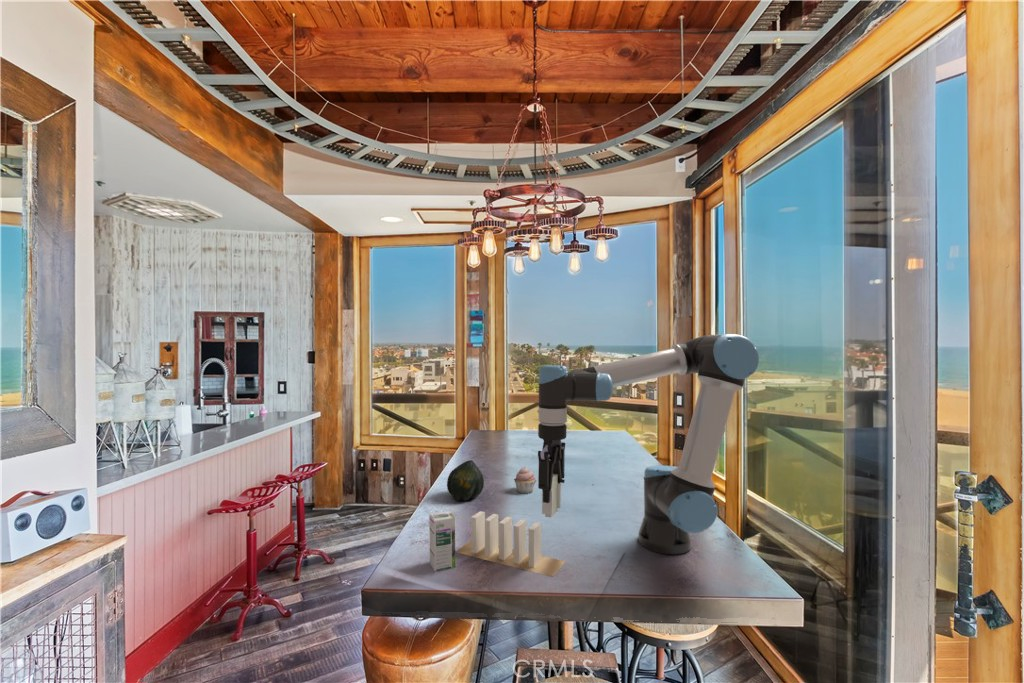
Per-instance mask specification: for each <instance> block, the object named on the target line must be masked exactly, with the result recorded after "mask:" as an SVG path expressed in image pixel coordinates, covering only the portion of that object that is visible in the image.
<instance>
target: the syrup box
mask: <svg viewBox="0 0 1024 683" xmlns="http://www.w3.org/2000/svg"><path fill="white" fill-rule="evenodd" d="M428 517H429V519H428V521H429V522H428V523H429V524H428V525H429V563H430V566H431V567H432V569H433V571H434V572H440V571H444V570H445V571H446V570H450V569H454V568H456V519H455V518H456V517H455V515H454V514H453V513H452V512H451V511H450V510H447V511H442V512H441V511H440V512H436V513H430V514H429V516H428Z"/></svg>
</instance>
